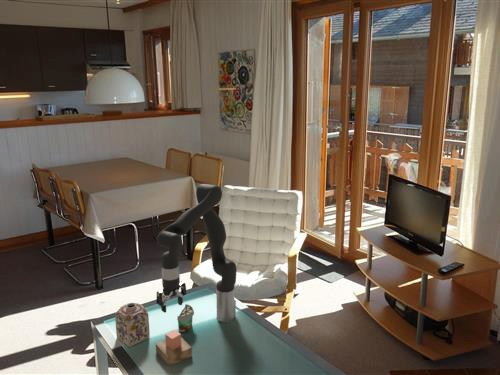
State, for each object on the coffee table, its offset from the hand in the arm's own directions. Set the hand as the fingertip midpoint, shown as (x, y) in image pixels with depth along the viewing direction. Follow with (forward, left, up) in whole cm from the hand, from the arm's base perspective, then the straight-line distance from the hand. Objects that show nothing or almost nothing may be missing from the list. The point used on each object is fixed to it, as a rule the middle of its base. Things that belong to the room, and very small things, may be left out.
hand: (172, 308), depth 199 cm
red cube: (0, 0, -19) cm, 19 cm away
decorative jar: (+7, -24, -24) cm, 35 cm away
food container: (-17, -12, -24) cm, 32 cm away
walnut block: (0, 0, -24) cm, 24 cm away
